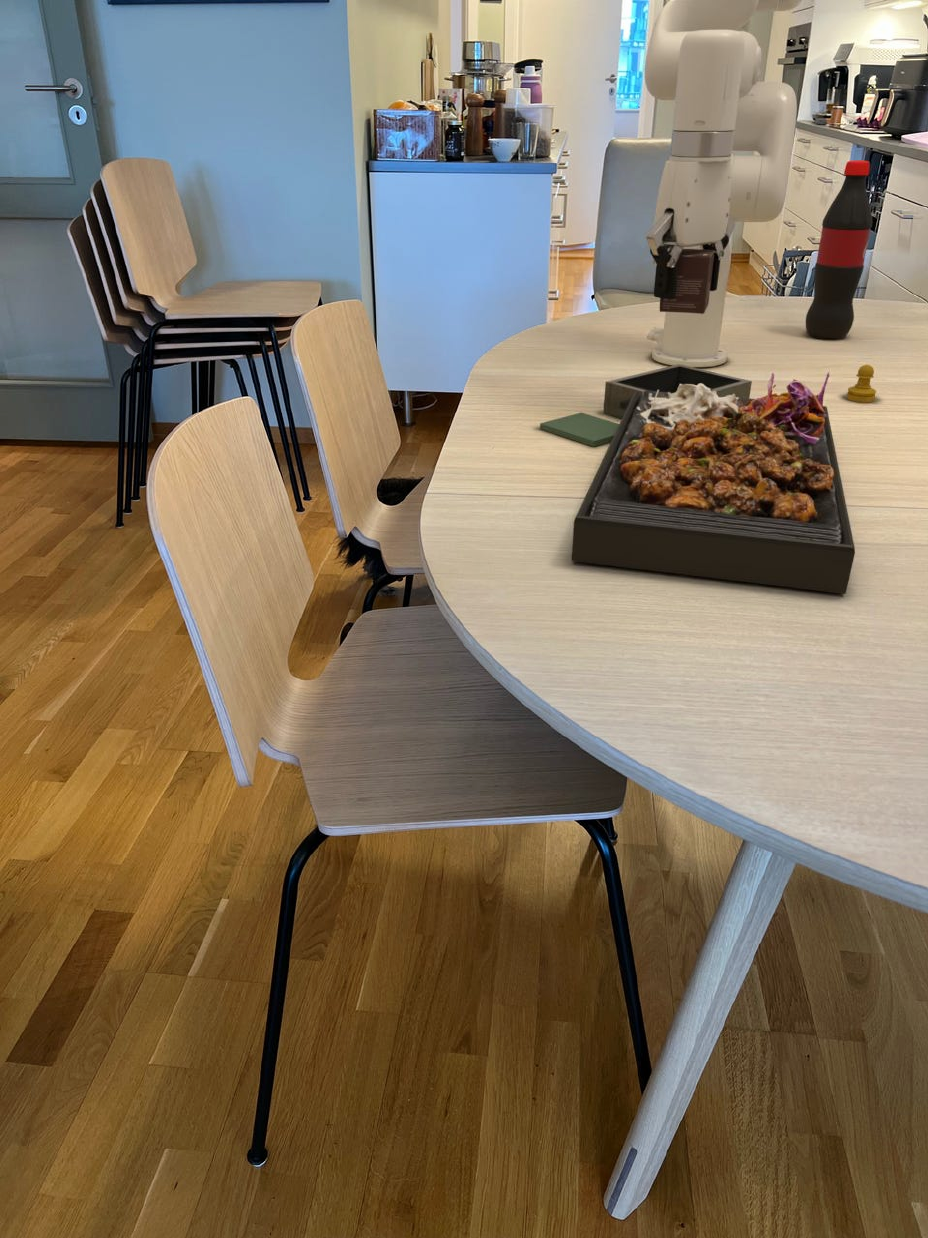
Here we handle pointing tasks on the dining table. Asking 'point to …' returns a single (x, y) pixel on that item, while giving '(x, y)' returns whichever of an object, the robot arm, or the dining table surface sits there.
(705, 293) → the box
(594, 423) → the mat
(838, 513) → the food platter
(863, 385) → the chess piece
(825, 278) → the cola bottle
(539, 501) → the dining table surface
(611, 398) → the dark grey tray
